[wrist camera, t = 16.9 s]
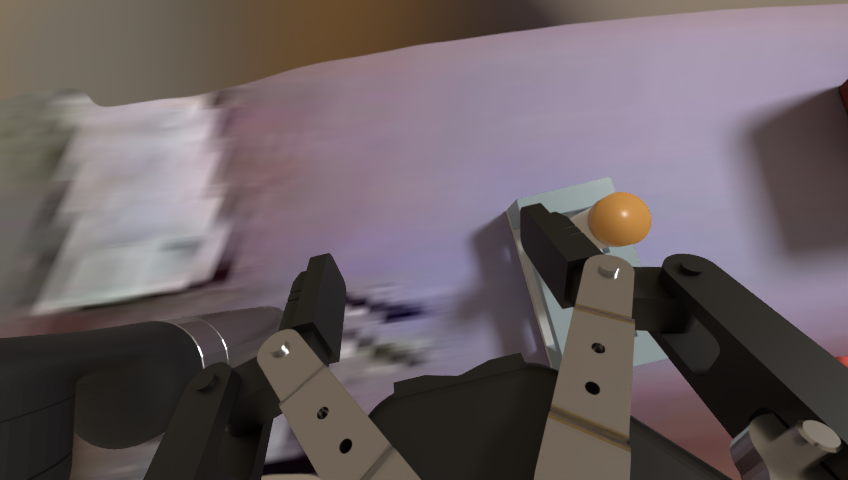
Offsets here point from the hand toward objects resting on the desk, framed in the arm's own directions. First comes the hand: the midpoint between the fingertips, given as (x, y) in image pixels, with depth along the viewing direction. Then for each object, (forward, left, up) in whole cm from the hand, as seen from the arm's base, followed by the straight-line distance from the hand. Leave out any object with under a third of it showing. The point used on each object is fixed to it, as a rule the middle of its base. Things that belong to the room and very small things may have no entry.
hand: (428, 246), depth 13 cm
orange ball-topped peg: (+12, -14, -30) cm, 35 cm away
